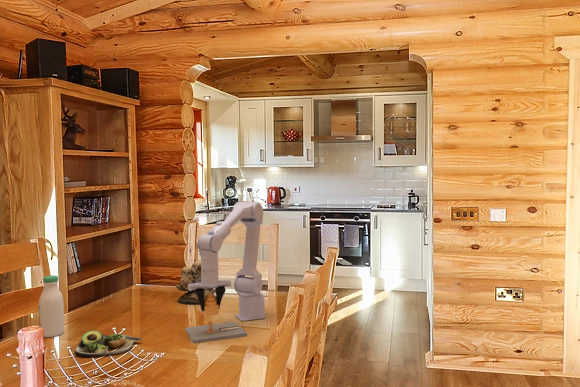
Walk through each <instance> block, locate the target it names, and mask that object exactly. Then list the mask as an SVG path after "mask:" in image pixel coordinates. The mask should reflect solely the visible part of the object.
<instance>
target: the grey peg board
mask: <svg viewBox="0 0 580 387" xmlns="http://www.w3.org/2000/svg"><path fill="white" fill-rule="evenodd" d="M185 332H186V334H187V335H188V337H189V338H190V340H191V342H192V343H193V344H197V343H204V342H212V341H219V340H220V339H221V340H226V339H235V338H241V337H247V335H248V334H247V333H248V332H247V331H245V329H244V328H242V326H240V325H239V324H238V322H237V321H228V322H227V321H226V322H220V323H213V322H212V321H209V322H208V324H206V325H205V324H204V325H198V326H188V327H185Z"/></svg>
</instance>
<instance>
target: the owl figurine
mask: <svg viewBox="0 0 580 387" xmlns="http://www.w3.org/2000/svg"><path fill="white" fill-rule="evenodd" d="M179 278H180V280H179V284H175V288H177V290H178V291H181V292H184V293H183V294H182V295H180V297H178V299H177V301H178V303H180V304H182V305H188V304H189V305H191V306H192V305H193V306H194V305H198V306H199V305H200V302H199V299H198V297H197V294H196V292H195V290H192V291H189V290H188V284H192V283H198V282H201V262H199V261H194V262H193V263H192V264H191V266H190V267H189V265H188V266H184V267H183V268H182V269H181V276H180V277H179ZM203 291H204V293H205V294H204V300H205V296H206V294H214V296H215V299H216V290H215V288H208V289H203Z"/></svg>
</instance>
